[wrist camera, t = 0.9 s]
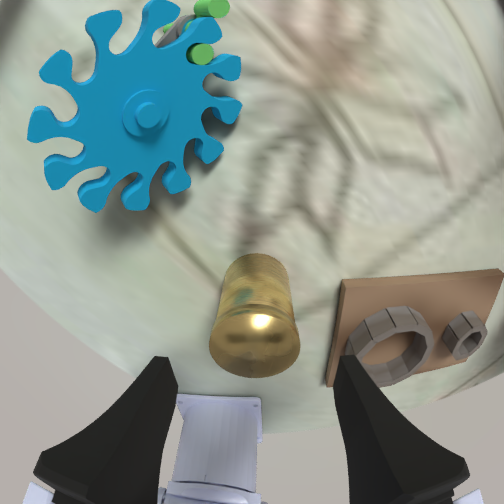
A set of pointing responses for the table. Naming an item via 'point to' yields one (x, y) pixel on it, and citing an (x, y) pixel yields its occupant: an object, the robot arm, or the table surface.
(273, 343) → the brass nipple
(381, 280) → the manifold board
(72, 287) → the table surface
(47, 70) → the gear
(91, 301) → the table surface
